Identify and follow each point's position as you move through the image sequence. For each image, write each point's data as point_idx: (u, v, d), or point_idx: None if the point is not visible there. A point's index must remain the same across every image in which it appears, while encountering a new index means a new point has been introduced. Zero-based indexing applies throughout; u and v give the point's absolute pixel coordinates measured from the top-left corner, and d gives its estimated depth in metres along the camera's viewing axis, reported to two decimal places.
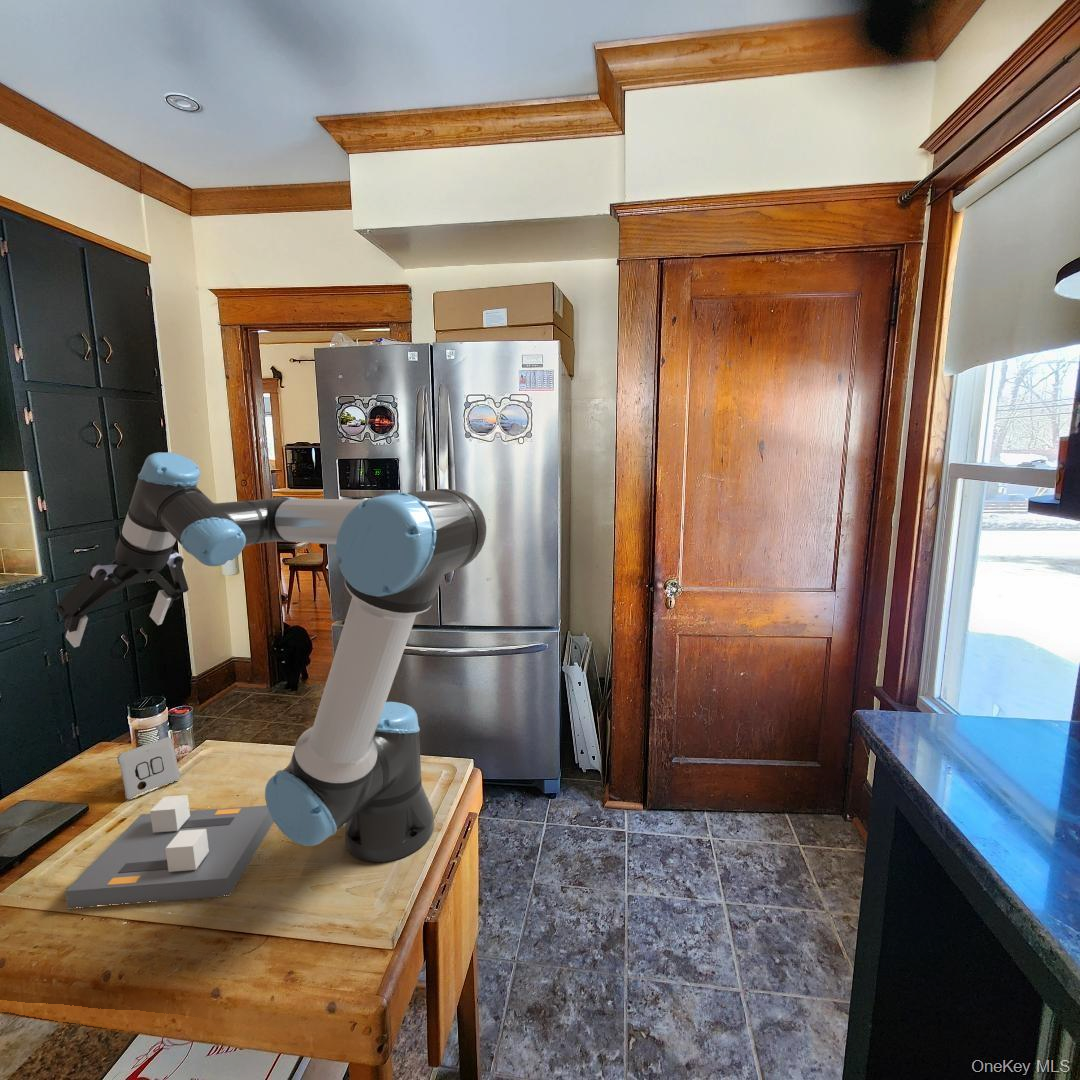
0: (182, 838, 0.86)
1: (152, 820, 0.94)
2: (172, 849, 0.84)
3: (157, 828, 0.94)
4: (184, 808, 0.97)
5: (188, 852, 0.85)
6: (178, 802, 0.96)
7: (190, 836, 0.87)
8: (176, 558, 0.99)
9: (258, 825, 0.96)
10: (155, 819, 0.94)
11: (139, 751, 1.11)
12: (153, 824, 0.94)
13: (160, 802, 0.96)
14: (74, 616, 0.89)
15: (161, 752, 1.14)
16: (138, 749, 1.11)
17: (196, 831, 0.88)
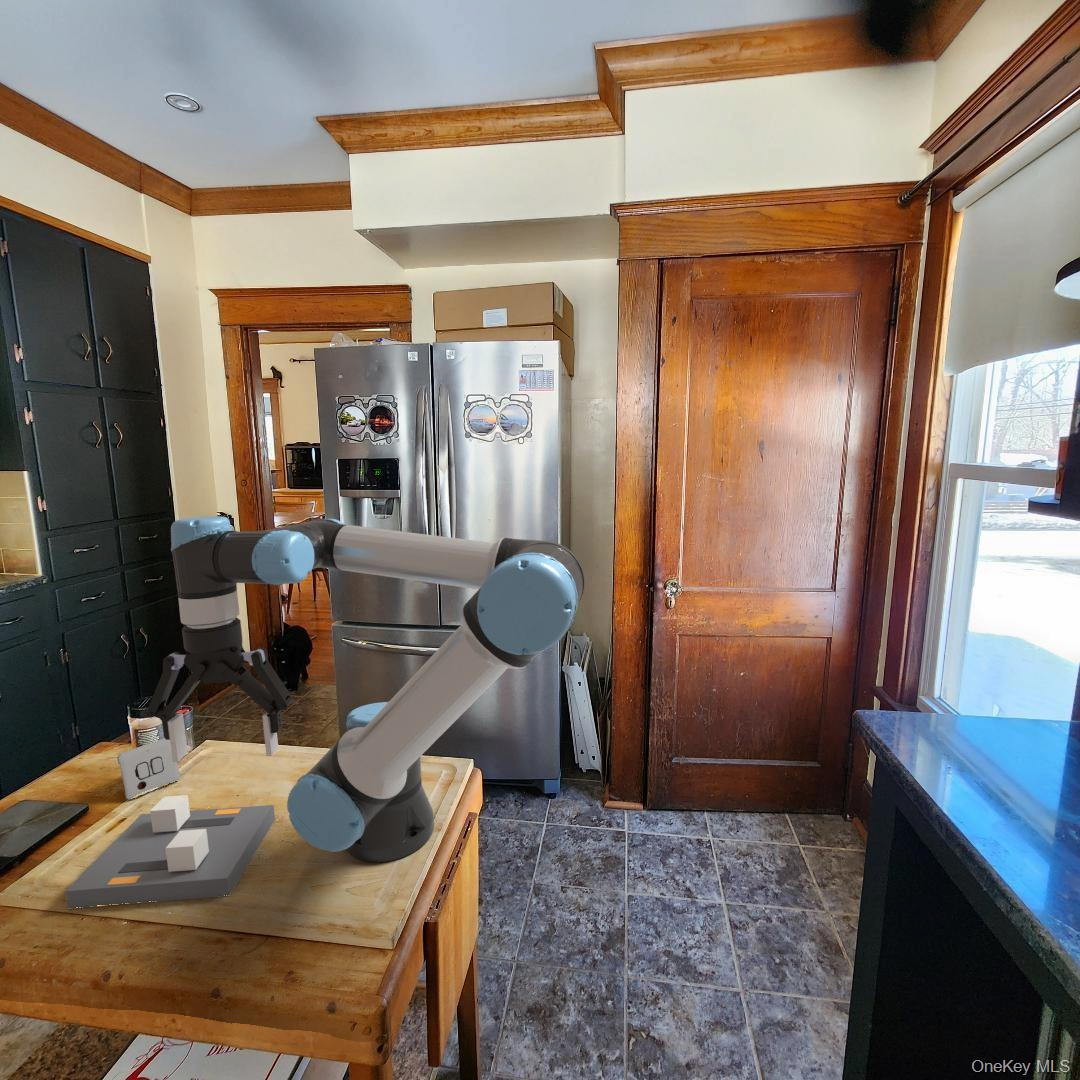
0: (182, 838, 0.86)
1: (152, 820, 0.94)
2: (172, 849, 0.84)
3: (157, 828, 0.94)
4: (184, 808, 0.97)
5: (188, 852, 0.85)
6: (178, 802, 0.96)
7: (190, 836, 0.87)
8: (252, 653, 0.83)
9: (258, 825, 0.96)
10: (155, 819, 0.94)
11: (139, 751, 1.11)
12: (153, 824, 0.94)
13: (160, 802, 0.96)
14: None
15: (161, 752, 1.14)
16: (138, 749, 1.11)
17: (196, 831, 0.88)
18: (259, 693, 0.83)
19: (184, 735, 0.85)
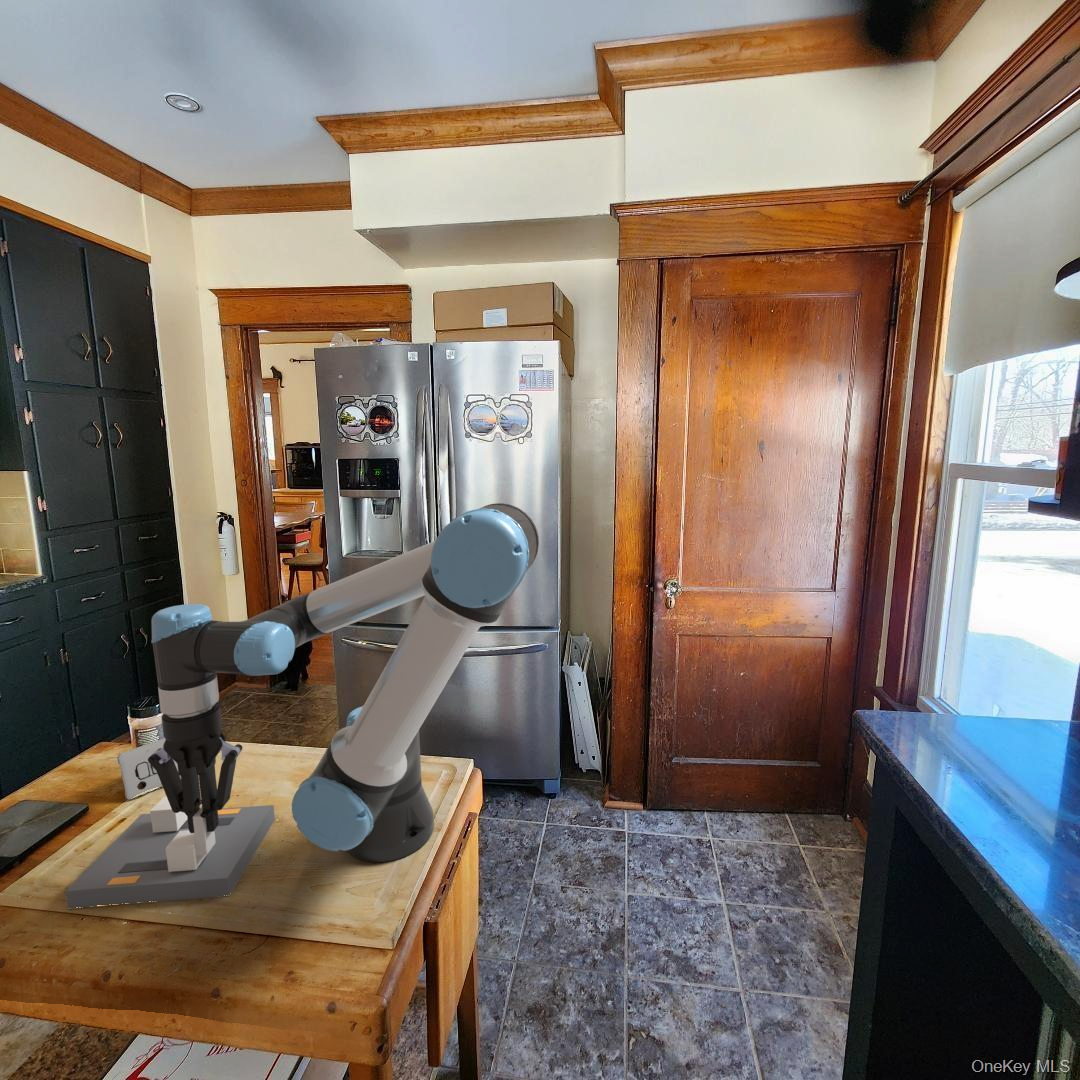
0: (182, 838, 0.86)
1: (152, 820, 0.94)
2: (172, 849, 0.84)
3: (157, 828, 0.94)
4: None
5: (188, 852, 0.85)
6: None
7: (190, 836, 0.87)
8: (231, 750, 0.84)
9: (258, 825, 0.96)
10: (155, 819, 0.94)
11: (139, 751, 1.11)
12: (153, 824, 0.94)
13: (160, 802, 0.96)
14: None
15: None
16: (138, 749, 1.11)
17: None
18: (209, 791, 0.85)
19: None
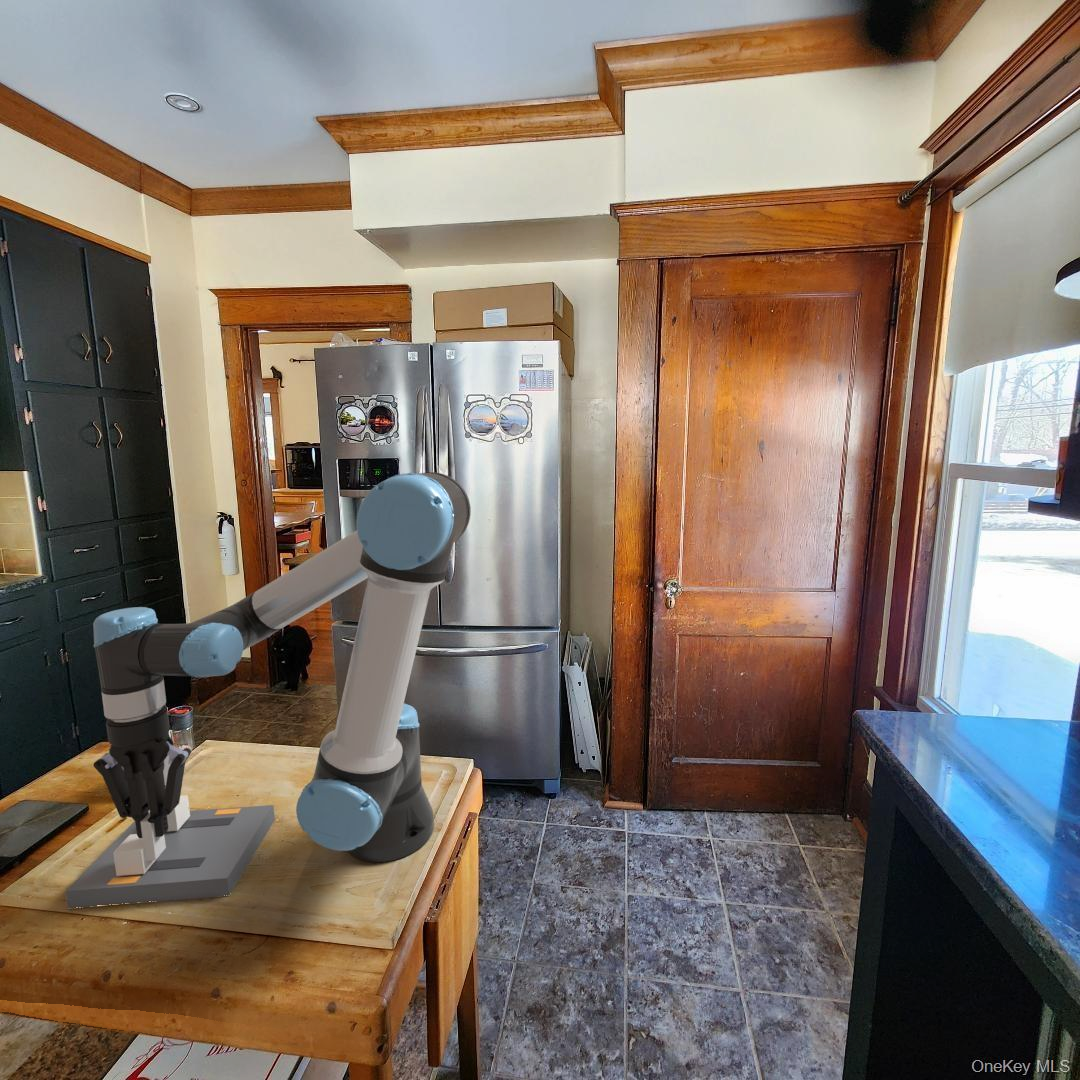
0: (131, 842, 0.86)
1: None
2: (120, 853, 0.84)
3: None
4: (184, 808, 0.97)
5: (136, 856, 0.84)
6: None
7: (139, 840, 0.86)
8: (178, 755, 0.84)
9: (258, 825, 0.96)
10: None
11: None
12: None
13: None
14: None
15: None
16: None
17: None
18: (157, 796, 0.84)
19: None
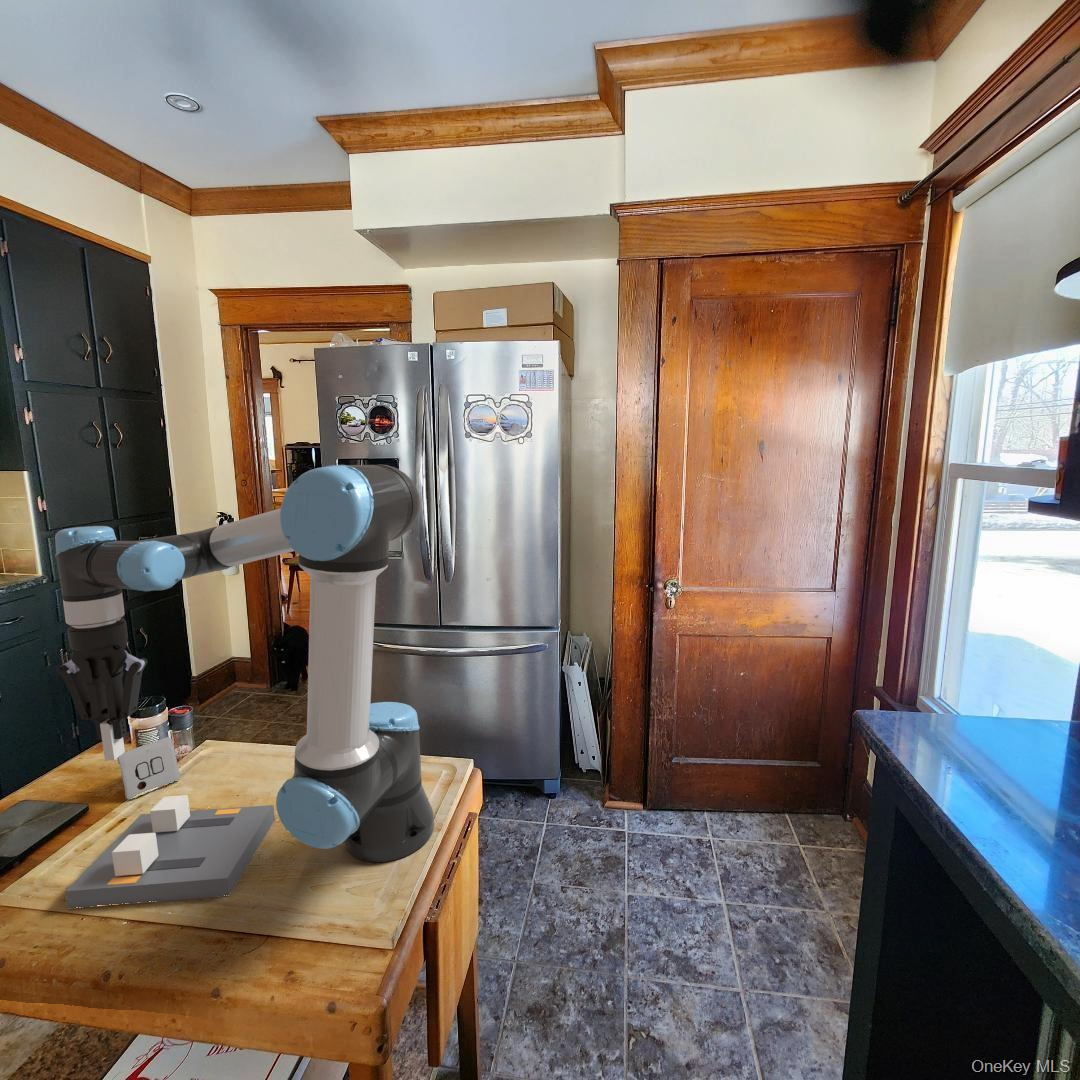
0: (130, 842, 0.86)
1: (152, 820, 0.94)
2: (119, 853, 0.84)
3: (157, 828, 0.94)
4: (184, 808, 0.97)
5: (135, 856, 0.84)
6: (178, 802, 0.96)
7: (138, 840, 0.86)
8: (135, 662, 0.91)
9: (258, 825, 0.96)
10: (155, 819, 0.94)
11: (139, 751, 1.11)
12: (153, 824, 0.94)
13: (160, 802, 0.96)
14: None
15: (161, 752, 1.14)
16: (138, 749, 1.11)
17: (145, 835, 0.87)
18: (115, 700, 0.91)
19: None
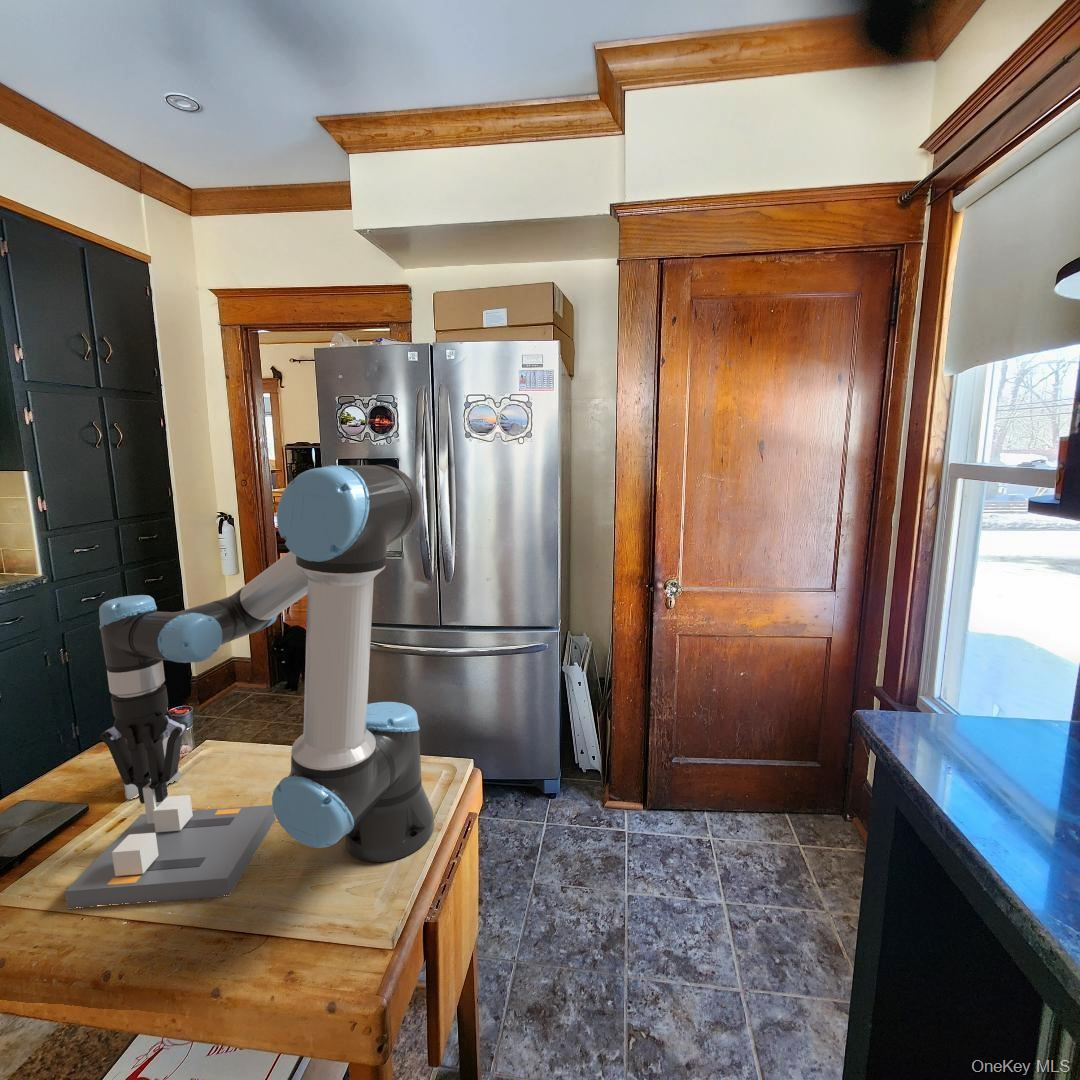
0: (130, 842, 0.86)
1: (155, 820, 0.94)
2: (119, 853, 0.84)
3: (160, 828, 0.94)
4: (187, 808, 0.97)
5: (135, 856, 0.84)
6: (181, 802, 0.96)
7: (138, 840, 0.86)
8: (176, 727, 0.93)
9: (258, 825, 0.96)
10: (158, 819, 0.94)
11: None
12: (156, 824, 0.94)
13: (163, 802, 0.96)
14: None
15: None
16: None
17: (145, 835, 0.87)
18: (157, 765, 0.93)
19: None
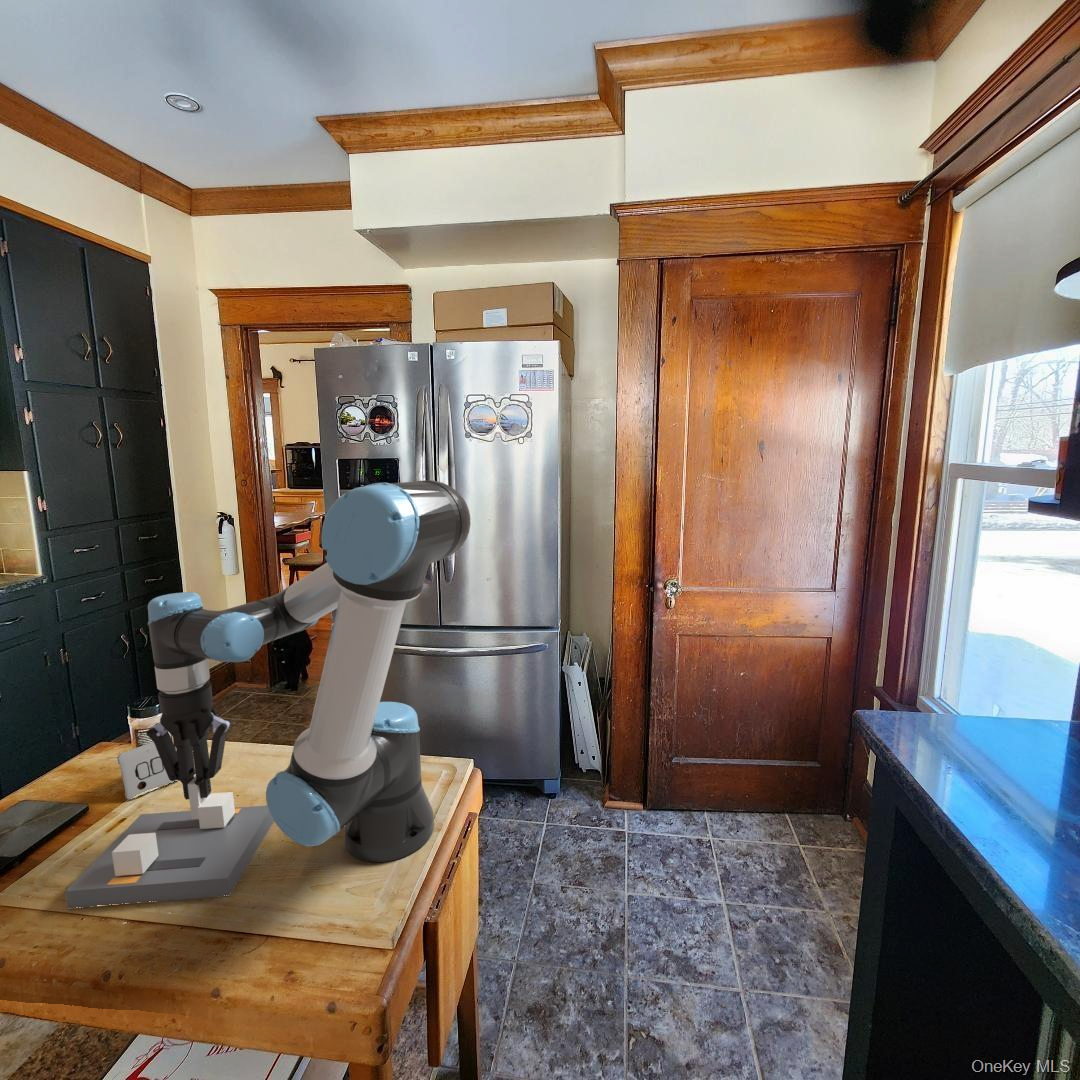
0: (130, 842, 0.86)
1: (199, 817, 0.94)
2: (119, 853, 0.84)
3: (204, 825, 0.95)
4: (230, 805, 0.97)
5: (135, 856, 0.84)
6: (224, 799, 0.96)
7: (138, 840, 0.86)
8: (221, 724, 0.94)
9: (258, 825, 0.96)
10: (202, 816, 0.94)
11: (139, 751, 1.11)
12: (200, 821, 0.94)
13: (206, 799, 0.96)
14: None
15: None
16: (138, 749, 1.11)
17: (145, 835, 0.87)
18: (202, 761, 0.94)
19: None
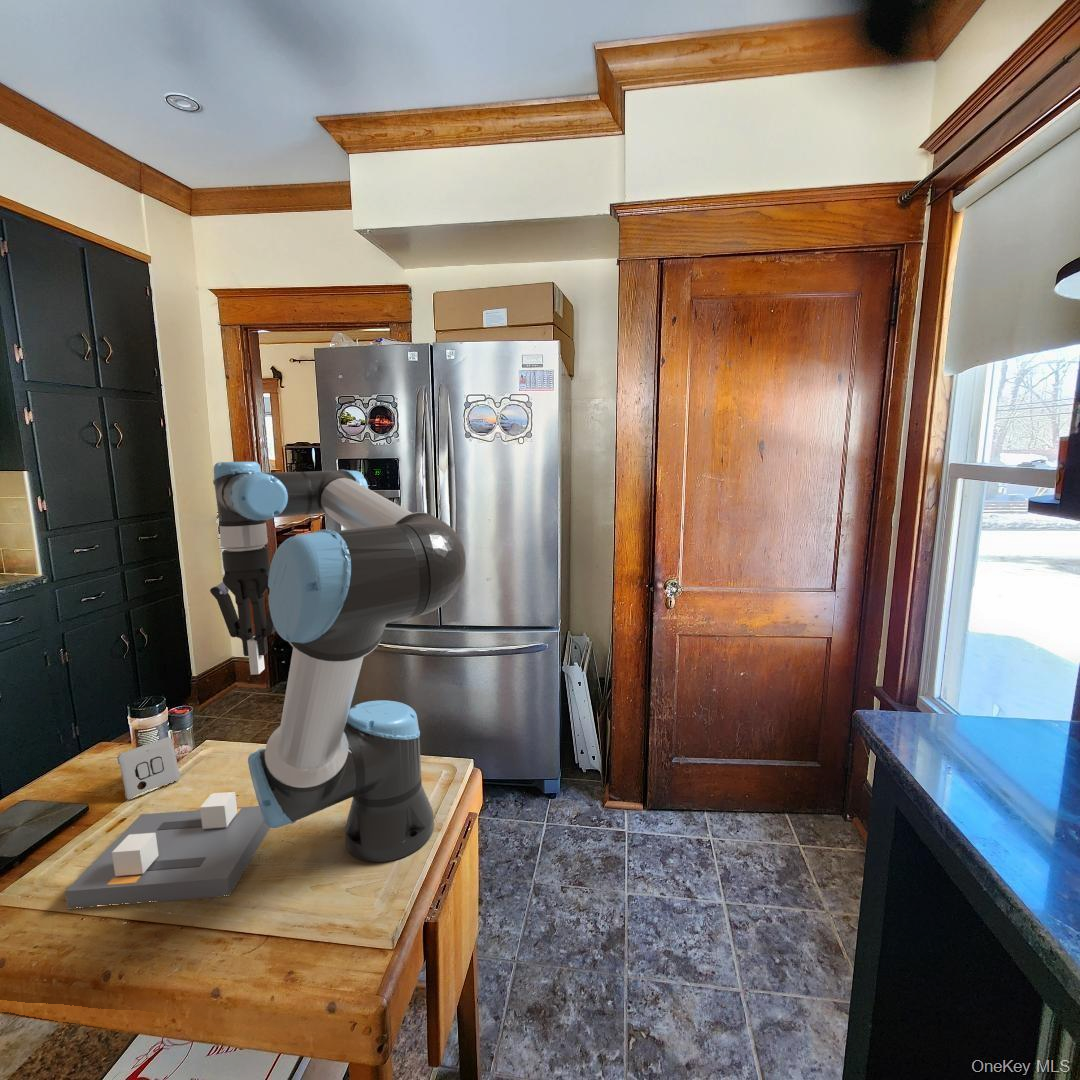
0: (130, 842, 0.86)
1: (202, 816, 0.94)
2: (119, 853, 0.84)
3: (207, 824, 0.95)
4: (232, 805, 0.97)
5: (135, 856, 0.84)
6: (227, 799, 0.96)
7: (138, 840, 0.86)
8: None
9: (258, 825, 0.96)
10: (205, 815, 0.94)
11: (139, 751, 1.11)
12: (203, 820, 0.95)
13: (209, 799, 0.96)
14: (241, 636, 1.02)
15: (161, 752, 1.14)
16: (138, 749, 1.11)
17: (145, 835, 0.87)
18: (260, 619, 1.01)
19: None
